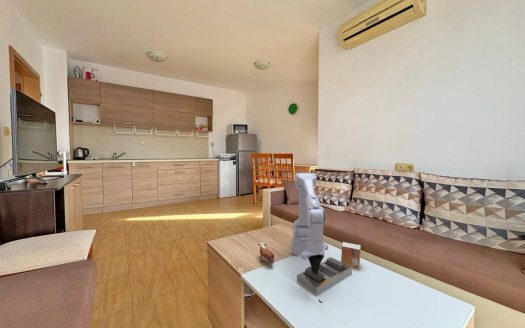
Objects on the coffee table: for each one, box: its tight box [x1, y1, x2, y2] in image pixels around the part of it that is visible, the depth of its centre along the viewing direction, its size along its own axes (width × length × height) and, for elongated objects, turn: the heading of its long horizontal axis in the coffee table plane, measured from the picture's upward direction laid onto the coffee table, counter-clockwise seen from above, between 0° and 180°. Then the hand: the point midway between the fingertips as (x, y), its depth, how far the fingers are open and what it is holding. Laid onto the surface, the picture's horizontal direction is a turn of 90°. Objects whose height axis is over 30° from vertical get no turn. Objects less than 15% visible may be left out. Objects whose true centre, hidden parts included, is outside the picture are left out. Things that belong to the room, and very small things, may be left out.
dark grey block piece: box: [304, 266, 324, 284], centre depth 85 cm, size 7×3×5 cm, turn 37°
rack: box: [296, 257, 353, 297], centre depth 89 cm, size 10×24×4 cm, turn 127°
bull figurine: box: [257, 242, 275, 269], centre depth 102 cm, size 4×13×8 cm, turn 25°
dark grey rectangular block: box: [325, 257, 344, 272], centre depth 93 cm, size 7×3×5 cm, turn 37°
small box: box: [340, 241, 362, 271], centre depth 99 cm, size 8×6×10 cm
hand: (314, 271), depth 84 cm, fingers closed
